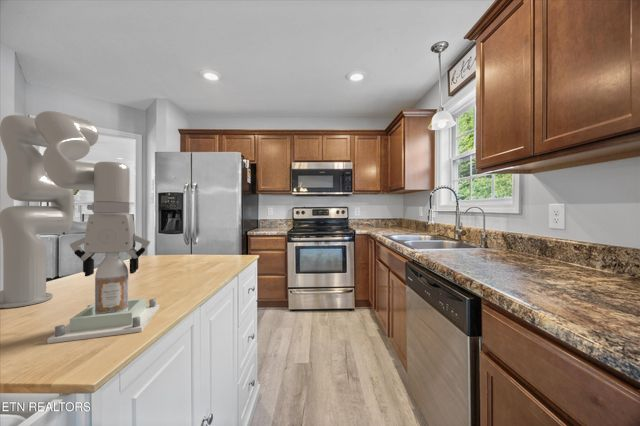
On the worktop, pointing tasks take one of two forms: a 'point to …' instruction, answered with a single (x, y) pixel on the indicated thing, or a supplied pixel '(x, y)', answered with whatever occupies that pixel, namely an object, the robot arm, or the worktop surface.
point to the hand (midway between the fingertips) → (111, 273)
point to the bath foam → (111, 285)
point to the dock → (106, 322)
